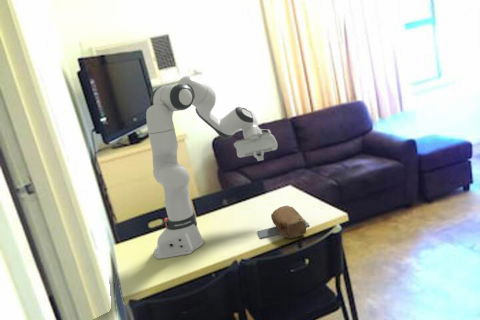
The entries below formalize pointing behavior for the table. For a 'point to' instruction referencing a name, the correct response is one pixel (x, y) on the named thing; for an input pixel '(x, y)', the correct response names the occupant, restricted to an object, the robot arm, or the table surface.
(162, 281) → the table surface
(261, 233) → the mat
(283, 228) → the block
